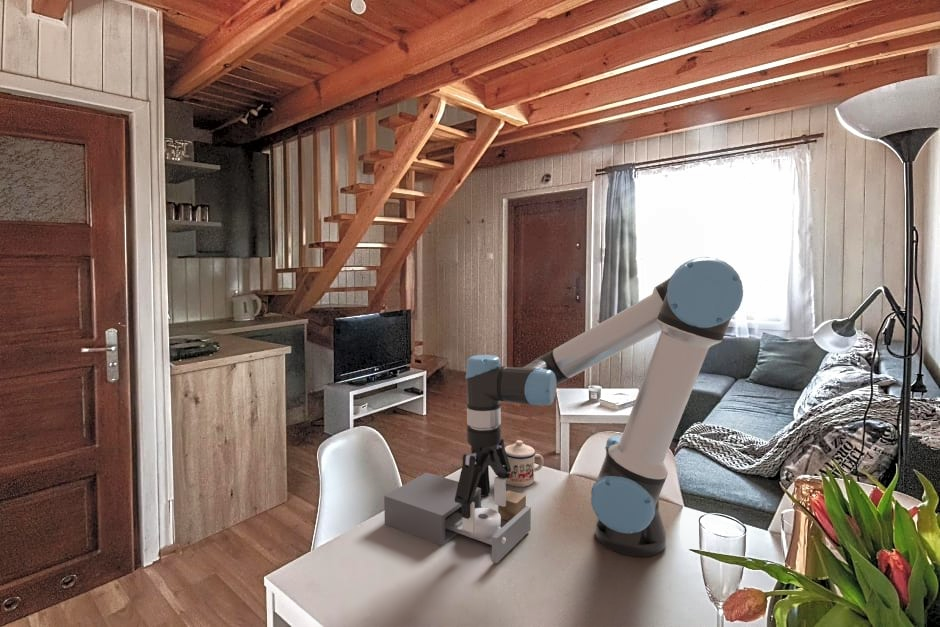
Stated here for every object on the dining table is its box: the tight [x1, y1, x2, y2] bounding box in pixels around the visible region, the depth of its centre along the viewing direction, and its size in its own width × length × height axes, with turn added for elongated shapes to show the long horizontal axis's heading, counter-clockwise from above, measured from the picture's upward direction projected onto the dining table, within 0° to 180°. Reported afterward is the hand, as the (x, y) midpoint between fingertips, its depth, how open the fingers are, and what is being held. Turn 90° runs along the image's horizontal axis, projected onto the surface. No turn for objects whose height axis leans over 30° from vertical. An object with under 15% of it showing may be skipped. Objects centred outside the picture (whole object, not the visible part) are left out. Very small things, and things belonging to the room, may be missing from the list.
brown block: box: [497, 490, 527, 522], centre depth 123 cm, size 5×5×5 cm
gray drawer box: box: [383, 472, 482, 547], centre depth 121 cm, size 17×16×7 cm
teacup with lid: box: [504, 440, 545, 488], centre depth 143 cm, size 12×9×12 cm
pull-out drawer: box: [445, 505, 532, 564], centre depth 114 cm, size 18×16×5 cm
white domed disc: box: [466, 507, 502, 539], centre depth 113 cm, size 8×8×3 cm
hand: (485, 517), depth 113 cm, fingers open, 13 cm apart
